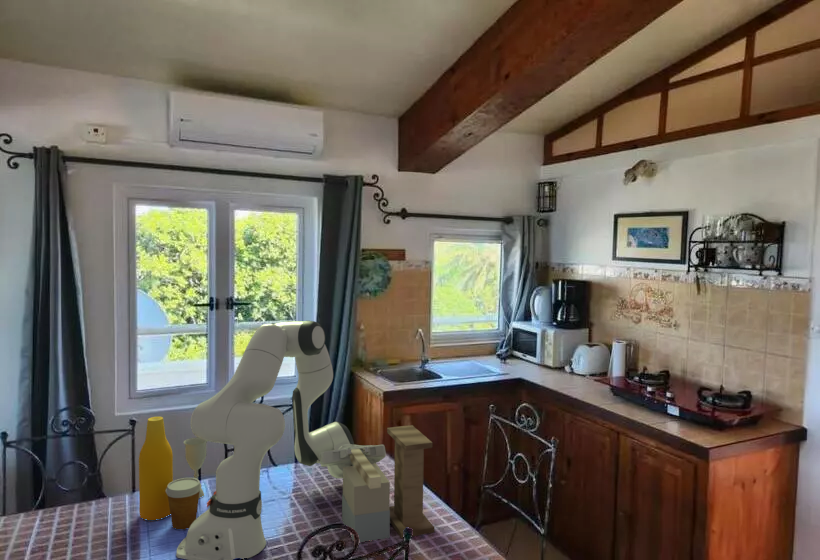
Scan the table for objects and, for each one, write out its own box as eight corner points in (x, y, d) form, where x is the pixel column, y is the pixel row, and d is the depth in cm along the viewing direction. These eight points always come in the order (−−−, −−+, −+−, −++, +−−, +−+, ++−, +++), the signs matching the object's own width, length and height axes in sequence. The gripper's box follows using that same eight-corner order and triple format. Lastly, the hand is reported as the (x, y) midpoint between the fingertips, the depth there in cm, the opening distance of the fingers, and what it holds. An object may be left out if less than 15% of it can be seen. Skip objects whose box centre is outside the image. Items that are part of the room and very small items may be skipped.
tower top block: (342, 493, 162) (342, 467, 162) (375, 489, 165) (375, 463, 165) (354, 515, 149) (354, 486, 148) (389, 510, 152) (389, 481, 152)
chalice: (182, 501, 173) (182, 445, 172) (185, 492, 179) (184, 438, 178) (207, 499, 175) (207, 443, 174) (209, 490, 181) (208, 436, 180)
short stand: (383, 512, 167) (384, 428, 166) (414, 507, 171) (415, 424, 170) (401, 538, 152) (402, 446, 151) (434, 532, 156) (435, 442, 155)
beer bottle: (138, 524, 158) (136, 425, 157) (140, 510, 167) (139, 415, 165) (173, 518, 162) (172, 421, 160) (173, 505, 170) (172, 412, 169)
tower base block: (342, 520, 162) (342, 494, 162) (374, 515, 166) (374, 489, 165) (354, 544, 149) (354, 515, 149) (389, 538, 153) (389, 510, 152)
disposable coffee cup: (204, 527, 157) (204, 486, 156) (168, 536, 152) (168, 493, 151) (198, 513, 165) (197, 474, 165) (163, 521, 160) (163, 481, 159)
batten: (349, 459, 168) (349, 449, 168) (359, 458, 169) (359, 448, 169) (370, 489, 147) (370, 478, 147) (380, 487, 148) (380, 476, 148)
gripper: (314, 452, 173) (322, 443, 161) (376, 445, 180) (388, 436, 169) (316, 473, 170) (324, 466, 159) (379, 465, 178) (391, 457, 166)
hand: (358, 450), depth 164 cm, fingers open, 4 cm apart
